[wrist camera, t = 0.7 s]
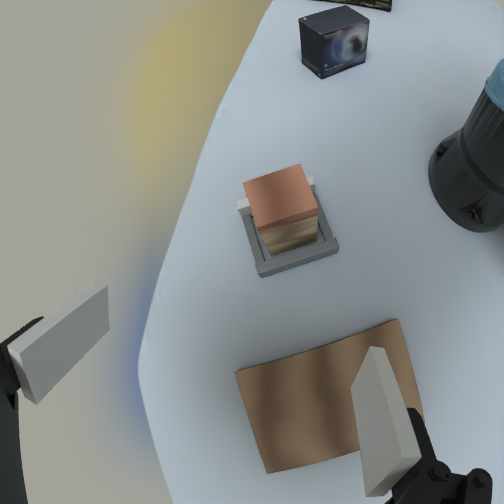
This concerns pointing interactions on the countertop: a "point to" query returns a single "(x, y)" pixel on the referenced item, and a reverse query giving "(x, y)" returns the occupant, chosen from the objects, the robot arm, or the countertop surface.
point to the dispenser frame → (295, 257)
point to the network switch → (370, 3)
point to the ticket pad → (283, 209)
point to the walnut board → (318, 397)
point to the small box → (333, 40)
